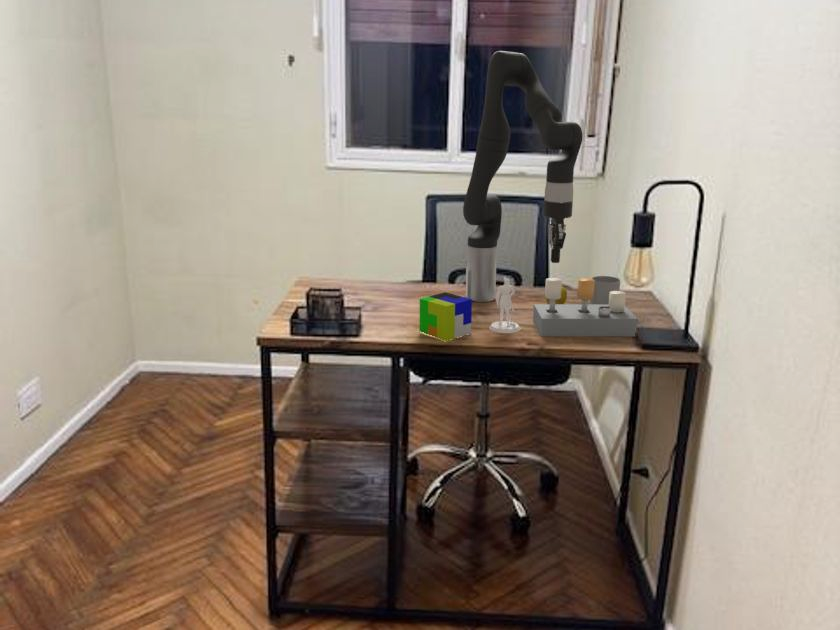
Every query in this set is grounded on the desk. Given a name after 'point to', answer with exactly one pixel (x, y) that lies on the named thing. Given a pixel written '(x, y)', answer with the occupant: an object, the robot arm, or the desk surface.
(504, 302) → the figurine
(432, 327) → the puzzle toy
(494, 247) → the robot arm
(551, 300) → the knob left
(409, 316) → the desk surface
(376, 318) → the desk surface
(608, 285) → the cup
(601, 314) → the dial
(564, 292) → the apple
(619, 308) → the knob right
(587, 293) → the knob middle
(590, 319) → the panel
